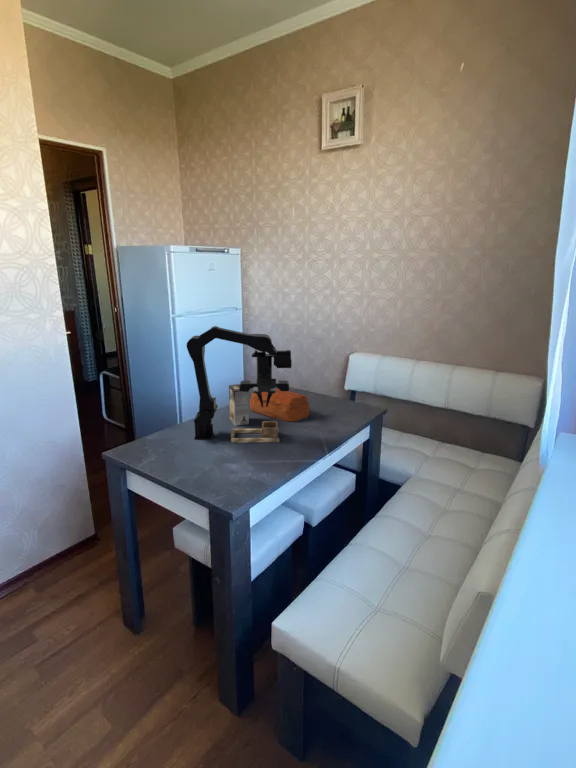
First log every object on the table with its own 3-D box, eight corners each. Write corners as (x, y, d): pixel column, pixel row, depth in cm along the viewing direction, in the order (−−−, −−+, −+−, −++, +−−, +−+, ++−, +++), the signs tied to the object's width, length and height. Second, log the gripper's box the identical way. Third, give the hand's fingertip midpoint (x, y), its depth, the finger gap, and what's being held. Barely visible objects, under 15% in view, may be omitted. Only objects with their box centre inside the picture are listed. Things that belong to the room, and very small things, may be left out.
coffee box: (229, 420, 184) (228, 384, 179) (243, 418, 186) (242, 383, 181) (234, 427, 176) (233, 390, 171) (249, 425, 178) (248, 389, 173)
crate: (262, 440, 161) (261, 428, 160) (262, 433, 168) (262, 421, 167) (277, 440, 162) (277, 428, 160) (277, 433, 168) (277, 421, 167)
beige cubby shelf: (230, 445, 159) (229, 438, 158) (232, 432, 170) (232, 426, 169) (283, 444, 160) (283, 437, 159) (282, 432, 171) (282, 425, 170)
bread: (269, 403, 207) (269, 382, 204) (312, 415, 190) (313, 393, 187) (246, 411, 195) (246, 389, 193) (290, 425, 179) (290, 401, 176)
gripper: (238, 373, 152) (239, 414, 156) (290, 373, 153) (289, 414, 157) (240, 366, 163) (241, 404, 167) (288, 366, 163) (288, 404, 168)
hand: (264, 407), depth 164 cm, fingers closed
